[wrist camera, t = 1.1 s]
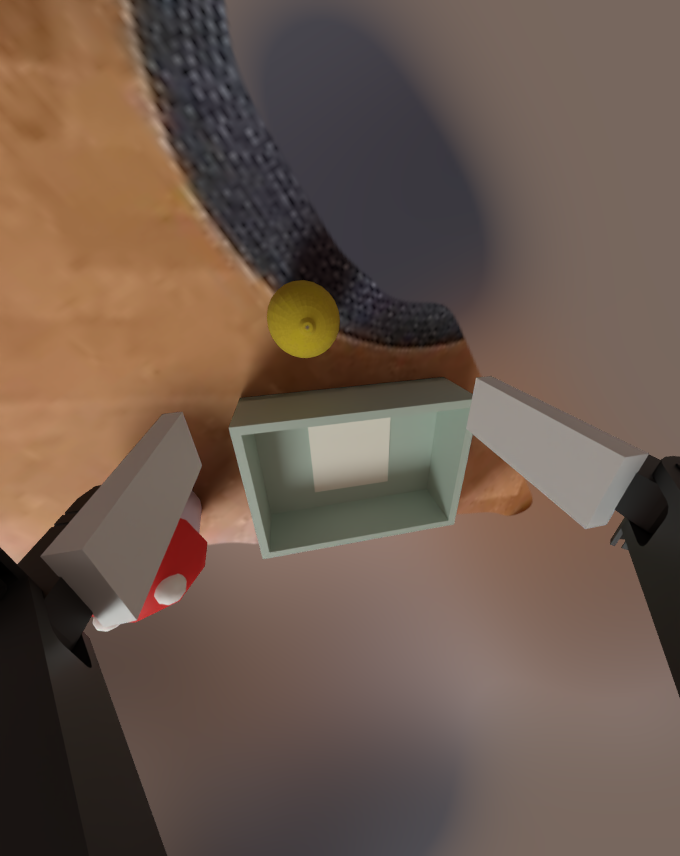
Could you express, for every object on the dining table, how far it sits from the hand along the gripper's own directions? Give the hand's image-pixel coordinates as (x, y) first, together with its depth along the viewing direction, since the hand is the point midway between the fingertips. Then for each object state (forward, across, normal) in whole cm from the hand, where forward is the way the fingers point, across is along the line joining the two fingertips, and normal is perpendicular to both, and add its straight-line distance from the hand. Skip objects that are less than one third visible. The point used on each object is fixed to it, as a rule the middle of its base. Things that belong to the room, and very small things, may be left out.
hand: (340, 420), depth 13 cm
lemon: (+16, -1, +3) cm, 16 cm away
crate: (+16, +3, -12) cm, 20 cm away
